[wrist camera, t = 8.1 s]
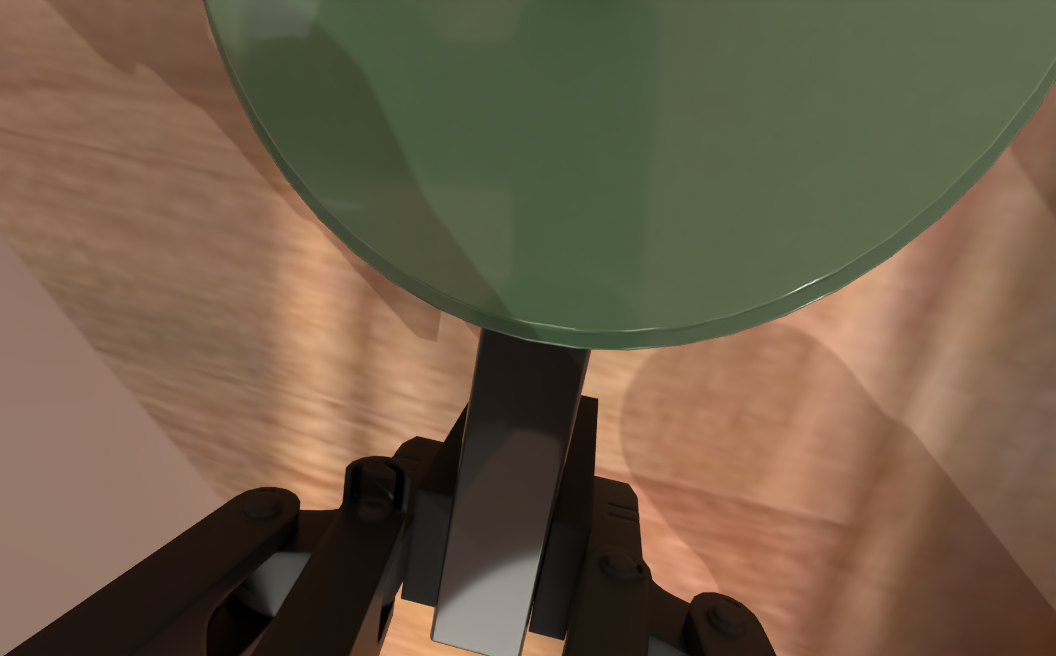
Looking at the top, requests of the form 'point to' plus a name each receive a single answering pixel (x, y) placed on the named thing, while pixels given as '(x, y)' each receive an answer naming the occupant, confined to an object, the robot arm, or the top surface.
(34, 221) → the top surface
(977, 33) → the pot
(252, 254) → the top surface
